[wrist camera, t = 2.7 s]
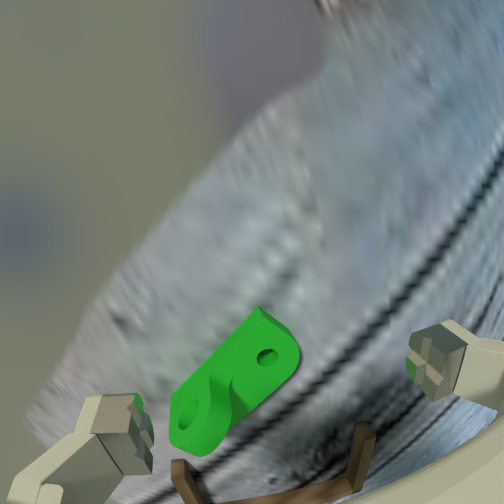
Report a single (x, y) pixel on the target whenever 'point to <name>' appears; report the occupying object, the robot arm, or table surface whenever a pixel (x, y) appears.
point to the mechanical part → (231, 383)
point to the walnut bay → (304, 499)
